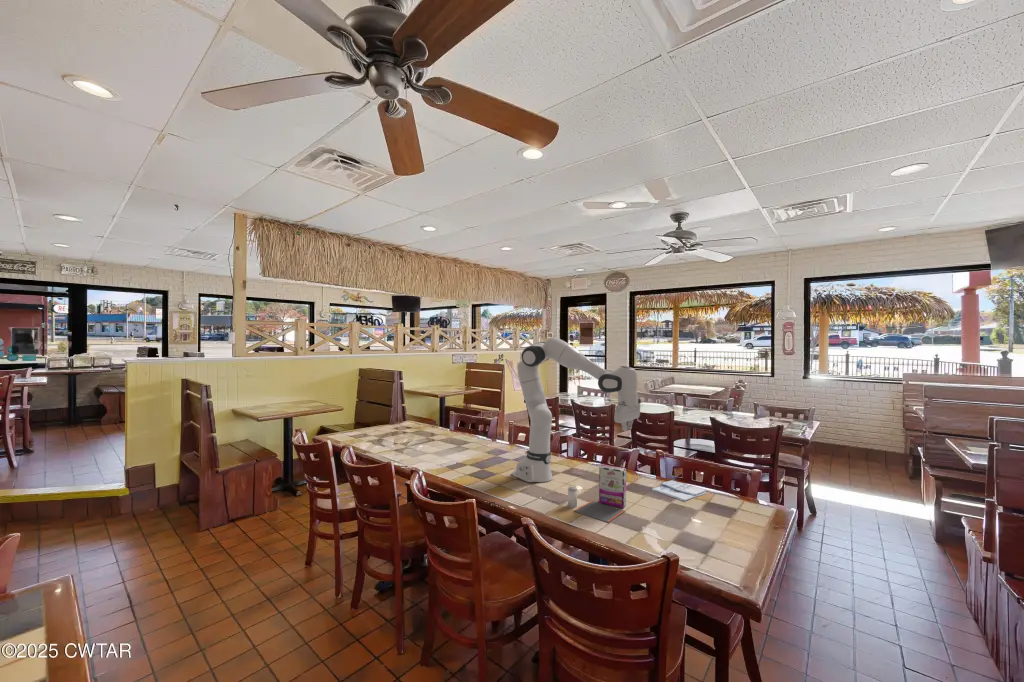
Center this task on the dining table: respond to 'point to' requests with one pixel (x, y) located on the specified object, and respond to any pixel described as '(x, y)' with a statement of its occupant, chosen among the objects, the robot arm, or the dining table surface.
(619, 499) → the candy bar box
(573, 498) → the salt shaker
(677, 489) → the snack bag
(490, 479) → the dining table surface
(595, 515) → the bar mat
